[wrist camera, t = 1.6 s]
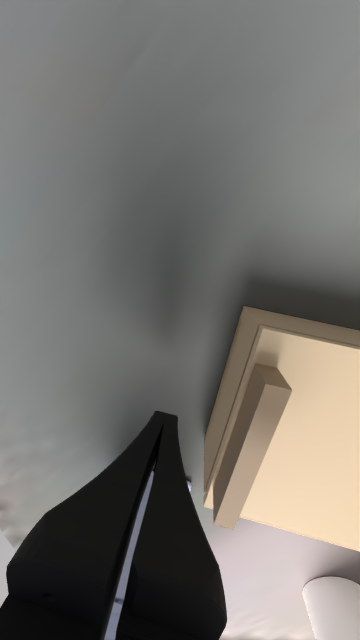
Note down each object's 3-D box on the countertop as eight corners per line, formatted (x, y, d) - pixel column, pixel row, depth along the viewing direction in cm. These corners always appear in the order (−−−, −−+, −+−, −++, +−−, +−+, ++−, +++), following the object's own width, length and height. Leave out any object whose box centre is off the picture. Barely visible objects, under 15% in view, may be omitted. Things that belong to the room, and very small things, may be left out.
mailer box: (369, 481, 19) (424, 555, 14) (204, 438, 20) (203, 492, 15) (456, 350, 15) (574, 392, 10) (243, 305, 16) (258, 323, 11)
